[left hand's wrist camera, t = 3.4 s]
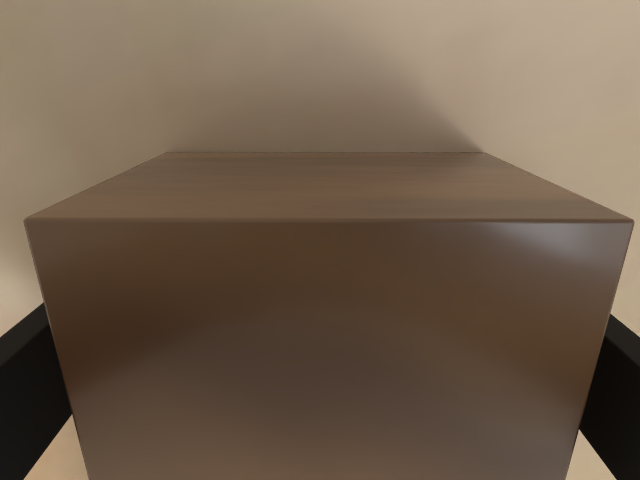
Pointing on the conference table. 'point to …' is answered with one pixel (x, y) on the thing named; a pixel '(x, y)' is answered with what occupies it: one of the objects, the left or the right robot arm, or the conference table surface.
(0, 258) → the conference table surface
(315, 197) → the thick board
